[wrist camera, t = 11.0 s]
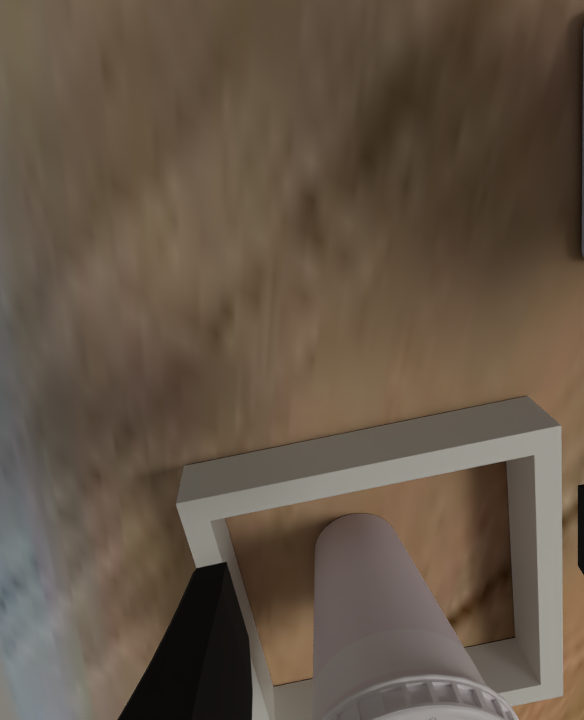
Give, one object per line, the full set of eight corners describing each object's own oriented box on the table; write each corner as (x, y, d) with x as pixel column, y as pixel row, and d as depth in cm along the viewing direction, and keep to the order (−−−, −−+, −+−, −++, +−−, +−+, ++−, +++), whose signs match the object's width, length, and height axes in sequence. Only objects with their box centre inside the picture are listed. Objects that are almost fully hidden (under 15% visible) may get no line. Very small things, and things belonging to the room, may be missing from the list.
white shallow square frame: (527, 395, 22) (561, 425, 19) (535, 648, 27) (563, 695, 24) (183, 466, 22) (175, 504, 19) (257, 704, 27) (258, 757, 24)
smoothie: (254, 565, 24) (258, 1072, 11) (344, 459, 22) (480, 902, 9) (367, 625, 25) (489, 1126, 12) (458, 531, 24) (711, 990, 11)
